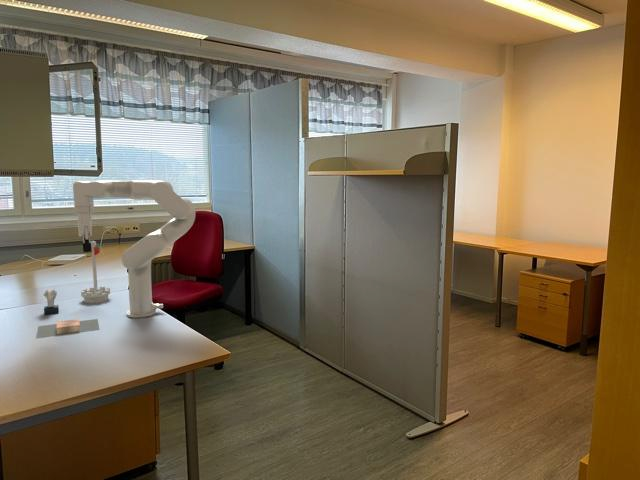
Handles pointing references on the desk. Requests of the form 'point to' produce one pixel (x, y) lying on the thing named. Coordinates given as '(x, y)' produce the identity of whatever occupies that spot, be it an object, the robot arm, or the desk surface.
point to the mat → (52, 331)
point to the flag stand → (95, 284)
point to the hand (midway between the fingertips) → (87, 251)
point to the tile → (68, 326)
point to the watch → (50, 302)
